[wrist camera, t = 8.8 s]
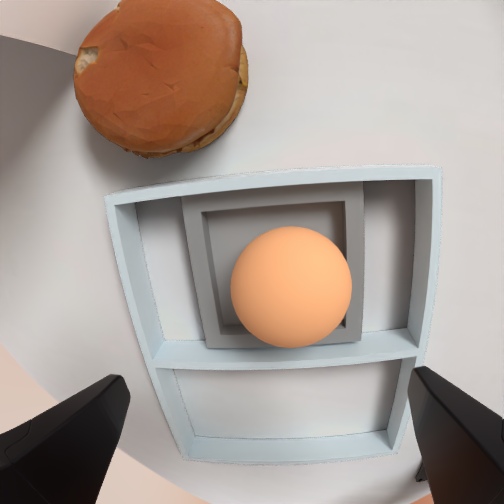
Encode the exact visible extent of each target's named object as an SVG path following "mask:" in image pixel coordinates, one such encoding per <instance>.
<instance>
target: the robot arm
mask: <svg viewBox="0 0 504 504" xmlns="http://www.w3.org/2000/svg"><path fill="white" fill-rule="evenodd" d="M407 394H408V399H409V404H410V409H411V415H412V420H413V425H414V431H415V436H416V439H417V443H418V446H419V449H420V453H421V456H422V460H423V465H422V467H421V469H420V471H419V473H418V475H417V477H416V482H421V481H425V480H428V483H429V487H430V490H431V494H432V497H433V501H434V504H504V419H503V420H502V417H501V416H499V415H498V414H496V413H495V412H493V411H492V410H490V409H489V408H487V407H486V406H484V405H483V404H481V403H480V402H478V401H477V400H476V399H474V398H473V397H471V396H470V395H468V394H467V393H465V392H464V391H462V390H461V389H459V388H458V387H456V386H455V385H453V384H452V383H450V382H449V381H447V380H446V379H444V378H443V377H441V376H440V375H438V374H437V373H435V372H434V371H432V370H431V369H429V368H428V367H426V366H420V367H415V368H413V369H412V371H411V375H410V380H409V384H408V389H407ZM129 403H130V392H129V390H128V388H127V385H126V383H125V380H124V378H123V377H122V376H121V375H115V374H110V375H108V376H106V377H105V378H103V379H101V380H99V381H98V382H96V383H94V384H93V385H91V386H89V387H87V388H86V389H84V390H82V391H80V392H79V393H77V394H75V395H73V396H72V397H70V398H68V399H66V400H65V401H63V402H61V403H59V404H57V405H56V406H54V407H52V408H50V409H48V410H47V411H45V412H43V413H41V414H39V415H38V416H36V417H34V418H33V419H32V420H31V419H30V420H29V421H27V422H25V423H23V424H21V425H19V426H17V427H15V428H13V429H11V430H9V431H7V432H5V433H2V434H0V504H95V503H96V500H97V497H98V494H99V491H100V489H101V486H102V483H103V481H104V478H105V475H106V473H107V470H108V467H109V464H110V462H111V459H112V457H113V454H114V451H115V449H116V446H117V444H118V441H119V438H120V435H121V432H122V429H123V425H124V421H125V417H126V414H127V410H128V406H129Z"/></svg>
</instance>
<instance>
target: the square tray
mask: <svg viewBox="0 0 504 504" xmlns="http://www.w3.org/2000/svg"><path fill="white" fill-rule="evenodd" d="M180 197H181V204H182V210H183V217H184V223H185V230H186V236H187V242H188V248H189V254H190V260H191V266H192V271H193V277H194V283H195V288H196V293H197V299H198V304H199V309H200V314H201V319H202V324H203V329H204V334H205V339H206V344H207V348H259V347H278V346H274V345H271V344H268V343H266V342H264V341H262V340H260V339H258V338H257V337H256V336H254V335H253V334H252V333H250V332H249V331H248V330H247V329H246V327H245V326H244V325H243V324H242V322H241V321H240V319H239V318H238V316H237V314H236V312H235V309H234V306H233V303H232V299H231V288H230V285H231V276H232V272H233V269H234V266H235V263H236V261H237V259H238V257H239V255H240V254H241V253H242V251H243V250H244V249H245V247H246V246H247V245H248V244H249V243H250V242H251V241H253V240H254V239H255V238H256V237H258V236H260V235H261V234H263V233H265V232H267V231H269V230H272V229H275V228H280V227H289V226H293V227H303V228H308V229H311V230H313V231H316V232H318V233H320V234H322V235H324V236H325V237H326V238H328V239H329V240H330V241H332V242H333V243H334V244H335V245H336V246H337V247H338V249H339V250H340V251H341V253H342V254H343V256H344V258H345V260H346V262H347V264H348V267H349V270H350V274H351V279H352V293H351V300H350V304H349V307H348V310H347V312H346V314H345V316H344V318H343V319H342V321H341V322H340V324H339V325H338V326H337V327H336V328H335V329H334V330H333V331H332V332H331V333H330V334H329V335H328V336H326V337H325V338H323V339H322V340H320V341H318V342H316V343H314V344H311V345H319V344H332V343H344V342H355V341H361V335H362V319H363V299H364V256H365V238H364V195H363V181H347V182H328V183H312V184H297V185H284V186H271V187H260V188H249V189H238V190H228V191H219V192H210V193H201V194H192V195H184V196H180Z"/></svg>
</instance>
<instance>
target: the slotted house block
mask: <svg viewBox="0 0 504 504" xmlns="http://www.w3.org/2000/svg"><path fill="white" fill-rule="evenodd" d="M121 1H122V0H0V35H2V36H7V37H11V38H15V39H19V40H23V41H27V42H31V43H35V44H39V45H42V46H46V47H49V48H53V49H56V50H60V51H63V52H66V53H69V54H72V55H76V56H77V54H78V51H79V47H80V46H81V44H82V42H83V41H84V39H85V37H86V36H87V35H88V33H89V32H90V31H91V30H92V29H93V27H94V26H95V25H96V24H97V23H98V22H99V21H100V20H101V19H102V18H103V17H105V16H106V15H107V14H108V13H110V12H111V11H113V10H114V9H115V8H116V7H117V5H118V3H119V2H121Z"/></svg>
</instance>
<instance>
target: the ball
mask: <svg viewBox="0 0 504 504" xmlns="http://www.w3.org/2000/svg"><path fill="white" fill-rule="evenodd" d="M230 288H231V299H232V303H233V306H234V309H235V312H236V314H237V316H238V318H239V319H240V321H241V322H242V324H243V325H244V326H245V327H246V329H247V330H248V331H249V332H250V333H252V334H253V335H254V336H256V337H257V338H258V339H260V340H262V341H264V342H266V343H268V344H271V345H274V346H278V347H283V348H298V347H304V346H308V345H311V344H314V343H316V342H318V341H320V340H322V339H323V338H325V337H326V336H328V335H329V334H330V333H331V332H332V331H333V330H334V329H335V328H336V327H337V326H338V325H339V324H340V322H341V321H342V319H343V318H344V316H345V314H346V312H347V310H348V307H349V304H350V300H351V293H352V279H351V274H350V270H349V267H348V264H347V262H346V260H345V258H344V256H343V254H342V253H341V251H340V250H339V249H338V247H337V246H336V245H335V244H334V243H333V242H332V241H330V240H329V239H328V238H326V237H325V236H324V235H322V234H320V233H318V232H316V231H313V230H311V229H308V228H303V227H293V226H289V227H280V228H275V229H272V230H269V231H267V232H265V233H263V234H261V235H260V236H258V237H256V238H255V239H254V240H253V241H251V242H250V243H249V244H248V245H247V246H246V247H245V249H244V250H243V251H242V253H241V254H240V255H239V257H238V259H237V261H236V263H235V266H234V269H233V272H232V276H231V285H230Z"/></svg>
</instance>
